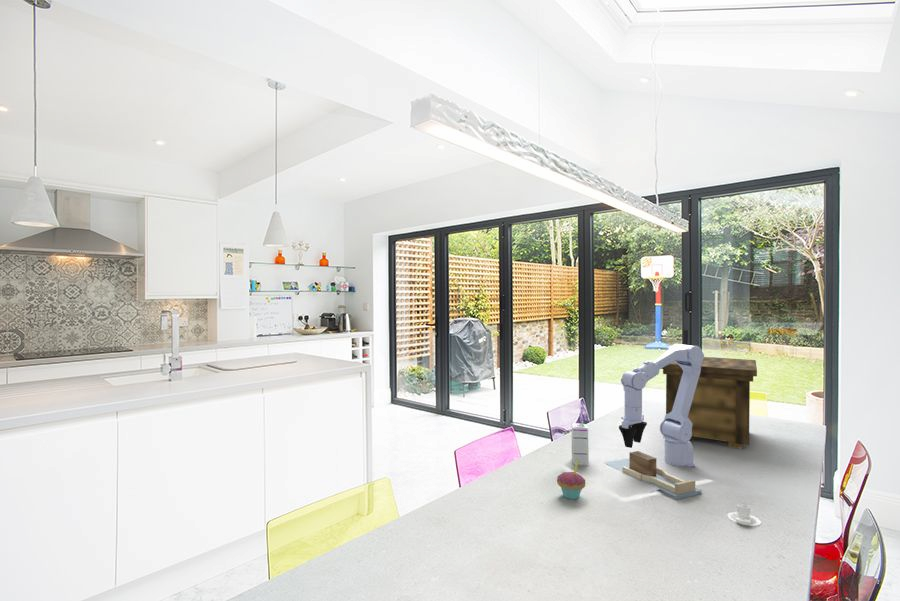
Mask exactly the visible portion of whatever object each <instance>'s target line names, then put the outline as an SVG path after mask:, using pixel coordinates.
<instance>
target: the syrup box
mask: <svg viewBox="0 0 900 601" xmlns="http://www.w3.org/2000/svg"><path fill="white" fill-rule="evenodd" d="M577 459H578V465H577V466H586V467H587V466H589V464H590V462H589V427H588V424H587V423H580V422H577V423H575V422H574V423H571V464H572V465H575V464H576V460H577Z"/></svg>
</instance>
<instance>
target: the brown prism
mask: <svg viewBox="0 0 900 601" xmlns="http://www.w3.org/2000/svg"><path fill="white" fill-rule="evenodd" d="M628 455H629V468H630V469H632V470H634V471H636V472H638V473H641V474H643V475H648V476H653V477H654V476H656V467H657V457H655V456H653V455H649V454H647V453H644V452H642V451H640V450H637V451H631V452H629V454H628Z"/></svg>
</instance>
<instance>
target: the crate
mask: <svg viewBox="0 0 900 601" xmlns="http://www.w3.org/2000/svg"><path fill="white" fill-rule="evenodd" d="M660 370H662V375H666V376H665V377H666V378H665V380H666V381H665V382H666V384H665V398H666V399H665V415H666V414H668V413H670V412H672V409H673V405H674V402H675V398H676V395H677V391H678V388H679V384H680V381H681V378H682V374H683V370H682V368H681V367H680V366H679V365H678V364H677V363H676V362H675V361H674V362H672V363H671V364H669V365H667V366H665V367H663V368H661V369H660ZM754 377H758V369H757V361H756V359H745V358H729V357H716V356H715V357H714V356H713V357H712V356H704V358H703V361H702V365H701V372H700V375H699V379H698V382H697V386H696V389H695V393H694V397H693V400H692V404H691V407H690V411H689V414H688V418H689V420H690V421H691V422H692V424H693V425H692V436H691V437H695V438H703V439H710V440H716V441H723V442H728V447H730V448H736V449H743V445H745V446H750V402H751V400H750V395H751V394H750V389H751V388H750V387H751V383H750V382H753V383H754ZM676 422H677V423H680V422H678V421H676ZM680 424H681V423H680Z"/></svg>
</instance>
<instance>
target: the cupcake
mask: <svg viewBox="0 0 900 601" xmlns="http://www.w3.org/2000/svg"><path fill="white" fill-rule="evenodd" d="M578 466H579V465H578V459H577V460H576V464H575V466H574V471H570V472H569V471H568V472H567V471H564V472H562V473H559V475H558V476H557V478H556V482H557V484H558V486H559V487H560V489H561V491H562V496H563V497H564V498H567V499H569V500H570V499H571V500H576V499H580V495H581V493H582V489H584V488H585V487H586V479H585V478H584V477H583V475H581V474H579V473H577V472H578V471H577V470H578Z"/></svg>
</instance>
